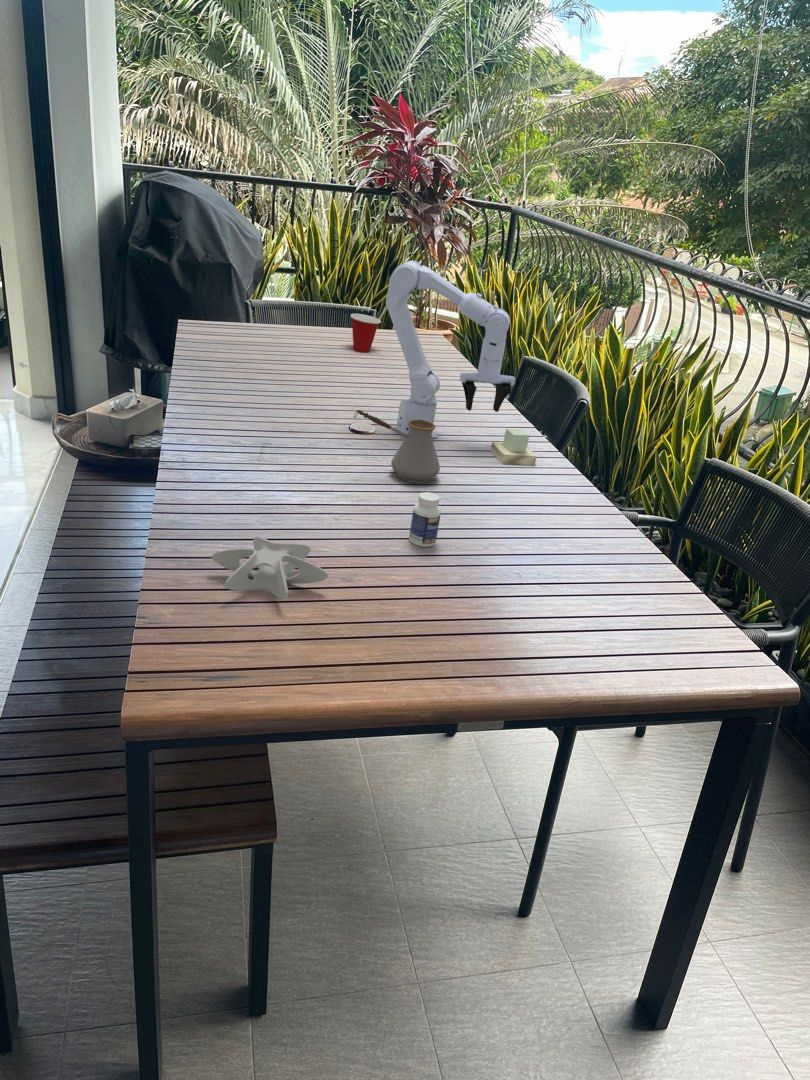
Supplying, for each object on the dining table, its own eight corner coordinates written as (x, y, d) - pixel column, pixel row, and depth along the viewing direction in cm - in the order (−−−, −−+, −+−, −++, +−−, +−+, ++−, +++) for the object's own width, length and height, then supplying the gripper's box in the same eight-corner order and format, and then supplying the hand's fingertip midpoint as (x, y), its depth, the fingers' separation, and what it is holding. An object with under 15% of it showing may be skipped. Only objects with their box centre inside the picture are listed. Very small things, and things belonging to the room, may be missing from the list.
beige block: (501, 465, 212) (503, 454, 210) (490, 452, 219) (492, 441, 218) (534, 467, 214) (536, 456, 213) (521, 454, 222) (524, 443, 220)
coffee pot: (433, 469, 202) (443, 409, 195) (442, 487, 191) (452, 425, 185) (345, 462, 198) (352, 401, 191) (349, 481, 187) (357, 417, 181)
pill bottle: (426, 550, 161) (434, 504, 157) (403, 541, 164) (410, 495, 159) (440, 541, 166) (448, 496, 161) (417, 532, 168) (424, 488, 164)
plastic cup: (376, 356, 294) (380, 322, 289) (346, 352, 294) (349, 317, 289) (377, 349, 304) (381, 316, 299) (348, 345, 304) (351, 311, 298)
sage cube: (510, 451, 213) (513, 435, 211) (502, 445, 217) (506, 428, 215) (525, 451, 214) (529, 435, 213) (518, 445, 218) (521, 429, 216)
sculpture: (231, 618, 131) (233, 583, 128) (204, 559, 147) (205, 526, 144) (336, 607, 138) (340, 573, 135) (300, 551, 154) (303, 520, 151)
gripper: (469, 361, 207) (461, 413, 213) (523, 364, 211) (513, 416, 217) (460, 353, 213) (452, 405, 219) (512, 357, 217) (503, 407, 223)
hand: (482, 410), depth 219 cm, fingers open, 7 cm apart
